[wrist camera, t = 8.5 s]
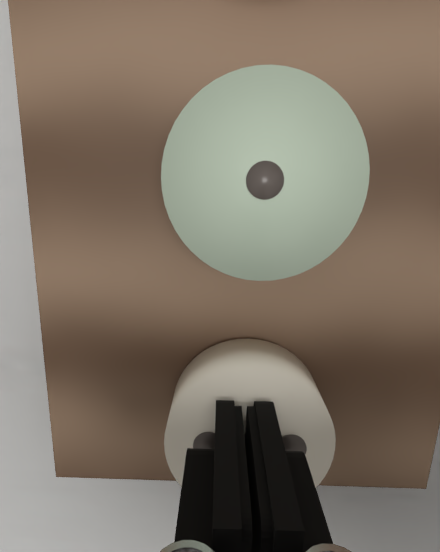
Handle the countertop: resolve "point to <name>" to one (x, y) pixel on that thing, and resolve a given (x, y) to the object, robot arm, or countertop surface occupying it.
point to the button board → (197, 274)
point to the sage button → (265, 172)
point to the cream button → (249, 401)
